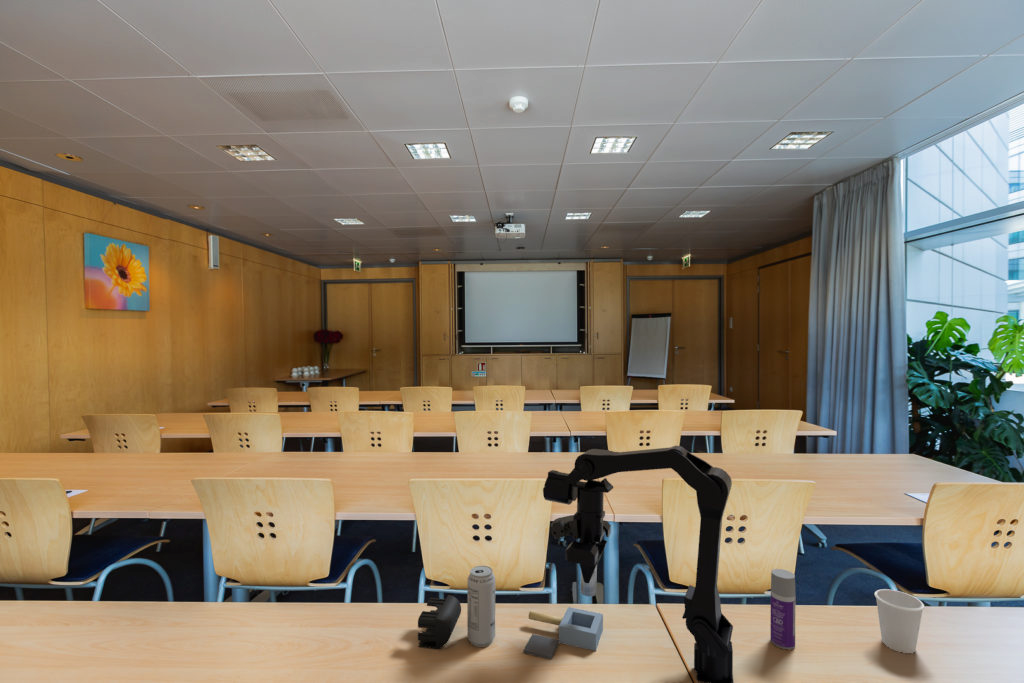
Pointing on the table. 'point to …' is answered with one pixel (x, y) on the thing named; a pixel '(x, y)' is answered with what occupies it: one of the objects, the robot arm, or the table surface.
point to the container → (783, 608)
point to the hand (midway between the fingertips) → (588, 578)
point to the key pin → (589, 585)
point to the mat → (541, 646)
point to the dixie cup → (899, 619)
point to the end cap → (438, 622)
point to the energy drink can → (481, 606)
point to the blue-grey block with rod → (575, 627)
